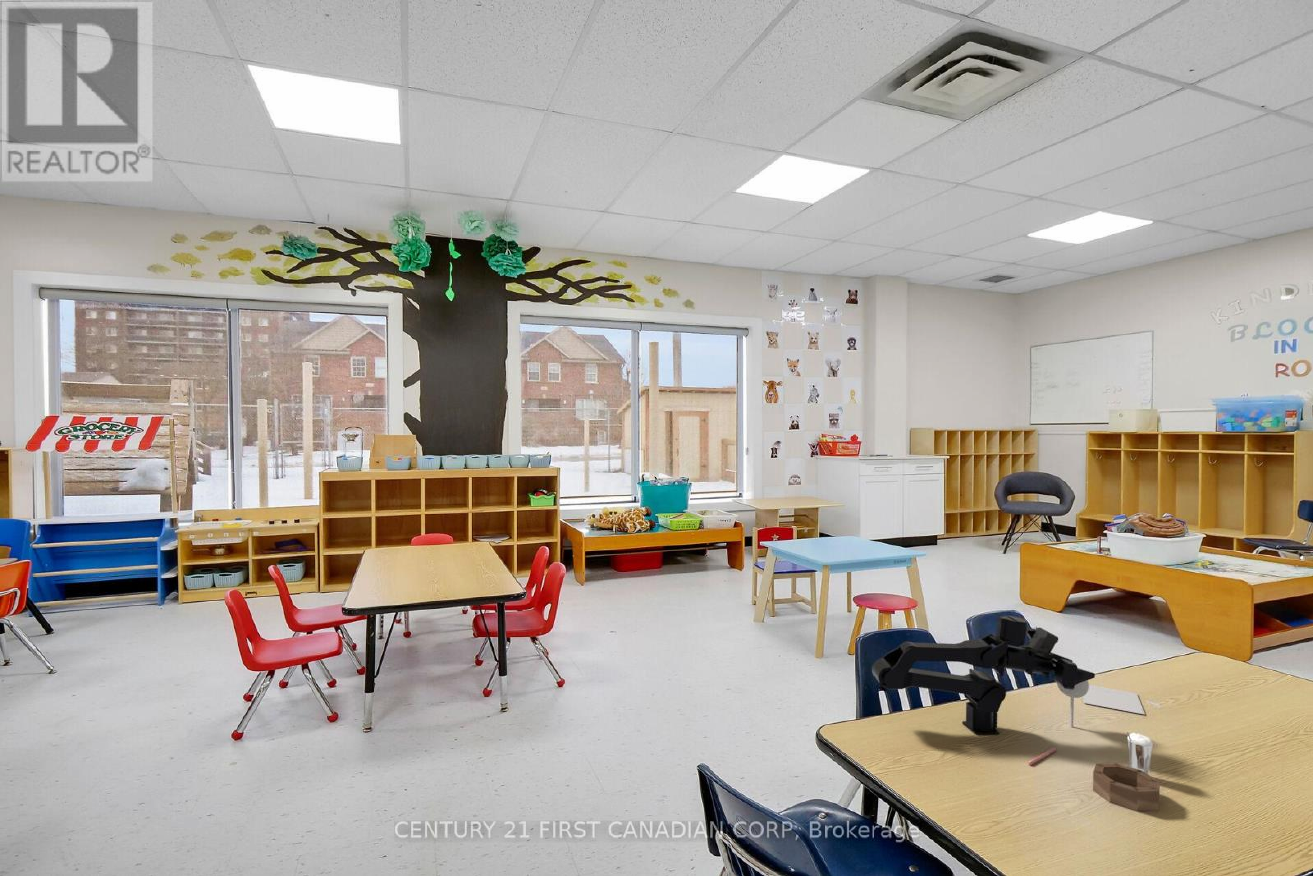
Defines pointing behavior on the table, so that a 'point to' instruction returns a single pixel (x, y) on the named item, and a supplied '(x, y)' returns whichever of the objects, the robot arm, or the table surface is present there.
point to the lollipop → (1075, 695)
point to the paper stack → (1114, 699)
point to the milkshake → (1140, 752)
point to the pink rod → (1042, 756)
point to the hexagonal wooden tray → (1126, 786)
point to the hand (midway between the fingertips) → (1082, 668)
